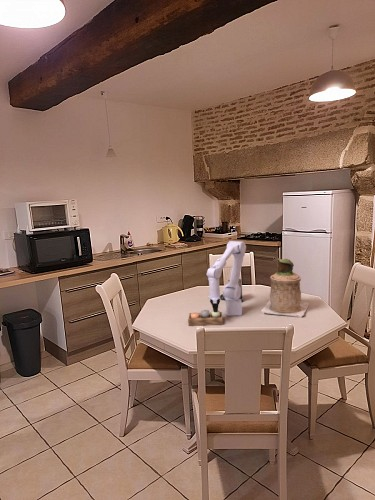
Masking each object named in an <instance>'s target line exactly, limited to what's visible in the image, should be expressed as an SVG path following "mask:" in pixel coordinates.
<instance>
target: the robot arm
mask: <svg viewBox="0 0 375 500" xmlns="http://www.w3.org/2000/svg"><path fill="white" fill-rule="evenodd" d="M224 250H225V251H224V252H223V253H222V255H221V256H220V257H219V258H217V259H216V260H215V262H214V264H213V265H212V266H211V267H209V268H208V269H207V270H206V276H207V280H208V286H209V295H208V296H207V299H210V300H209V302H210V304H211V307H212V311H214V312H218V311H219V305H220V302H221V299H220V295H221V293H220V291H221V290H220V278H221V276H222V273H223V269H224V268H225V267H226V265H227V261H228V260H229V258H231V256H233V263H232V267H231V268H232V269H231V272H230V277H229V279H230V281H228V283H226V284H225V285H224V288H223V290H222V294H223V297H224V298H225V299H226V300H225V308H226V309H225V316H232V317H233V316H243V305H242V304H243V303H242V302H241V299H239V298H240V296H241V288H240V286H239V285H238V281H239V279H240V275H241V272H242V266H243V262H244V257H245V254H246V250H247V245H246V243H245V241H243V240H242V241H238V240H229V241H228V242H227V244H226V248H225V249H224ZM232 288H235V289H232Z"/></svg>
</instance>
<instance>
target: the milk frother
mask: <svg viewBox="0 0 375 500" xmlns="http://www.w3.org/2000/svg"><path fill="white" fill-rule="evenodd" d="M227 281H228V282H229V281H230V278H229V279H228V280H227ZM238 285H239V286H240V288H241V296H240V298H239V299H241V302H244V300H243V299H244V298H243V280H242V278H239V281H238ZM232 289H235V288H232ZM219 299H220V300H223V301H226V299H225V297H223V293H221V294H220V298H219Z"/></svg>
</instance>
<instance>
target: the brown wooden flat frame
mask: <svg viewBox="0 0 375 500" xmlns="http://www.w3.org/2000/svg"><path fill="white" fill-rule="evenodd" d="M191 313H192V312H190V313H189V314H188V320H187V324H188V327H201V326H202V327H203V326H206V327H207V326H223V324H224V323H223V312H222V311H220V317H214V318H212V311H211V312H210V311H209V318H201V312H198V313H199V318H191Z"/></svg>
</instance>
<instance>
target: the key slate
mask: <svg viewBox="0 0 375 500" xmlns="http://www.w3.org/2000/svg"><path fill="white" fill-rule="evenodd" d="M209 312H210V311H209V310H208V309H204V310H201V311H200V313H201V318H209Z"/></svg>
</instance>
